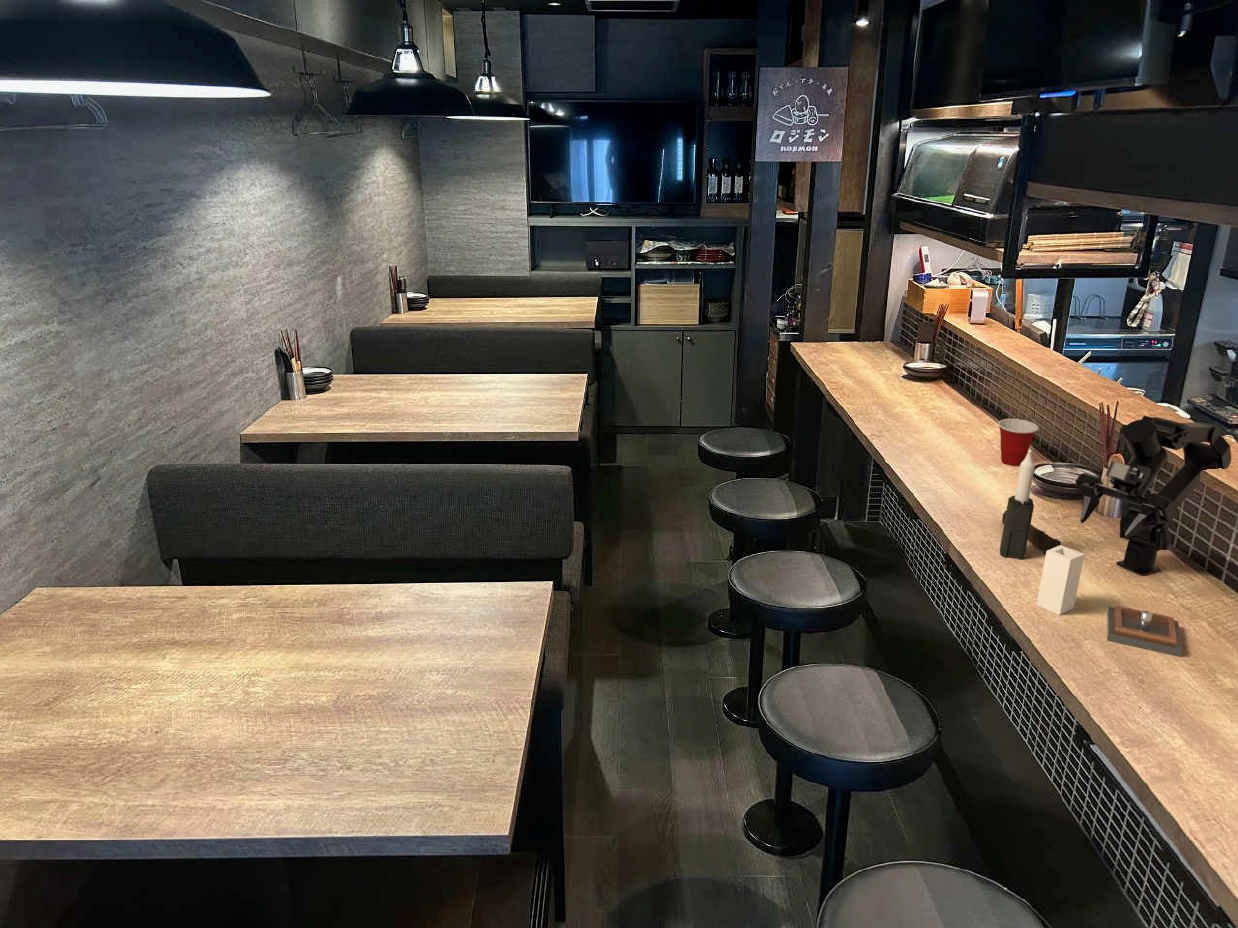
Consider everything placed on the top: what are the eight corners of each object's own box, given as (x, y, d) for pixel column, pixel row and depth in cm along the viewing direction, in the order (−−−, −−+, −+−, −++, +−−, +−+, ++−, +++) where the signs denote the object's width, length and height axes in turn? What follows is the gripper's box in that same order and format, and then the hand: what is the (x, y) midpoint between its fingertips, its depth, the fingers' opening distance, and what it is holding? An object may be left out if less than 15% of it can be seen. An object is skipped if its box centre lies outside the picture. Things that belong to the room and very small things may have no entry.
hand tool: (1059, 555, 209) (1063, 536, 208) (1043, 556, 209) (1047, 537, 207) (1012, 523, 227) (1015, 505, 225) (997, 524, 226) (1000, 506, 225)
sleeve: (1050, 598, 189) (1060, 545, 185) (1073, 608, 185) (1084, 554, 181) (1036, 604, 186) (1046, 550, 182) (1059, 614, 182) (1070, 559, 178)
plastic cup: (991, 466, 266) (998, 426, 263) (992, 455, 276) (998, 416, 272) (1032, 471, 263) (1039, 431, 259) (1031, 460, 272) (1038, 421, 268)
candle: (1023, 551, 211) (1042, 447, 202) (1024, 560, 206) (1044, 454, 198) (999, 547, 212) (1017, 444, 204) (1000, 556, 208) (1018, 451, 199)
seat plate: (1107, 613, 183) (1111, 592, 182) (1176, 627, 178) (1181, 607, 177) (1107, 640, 173) (1111, 619, 172) (1180, 656, 168) (1185, 634, 167)
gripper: (1089, 435, 193) (1049, 494, 190) (1182, 460, 179) (1140, 524, 176) (1101, 465, 200) (1063, 522, 197) (1191, 491, 185) (1152, 553, 183)
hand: (1103, 529), depth 188 cm, fingers open, 9 cm apart
